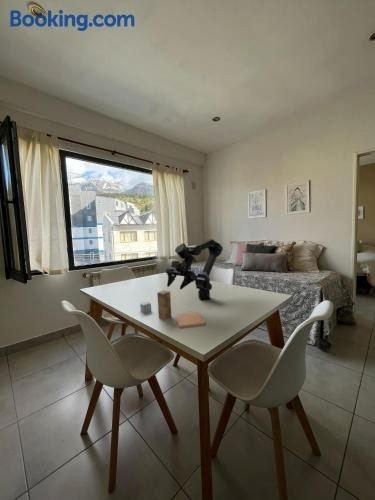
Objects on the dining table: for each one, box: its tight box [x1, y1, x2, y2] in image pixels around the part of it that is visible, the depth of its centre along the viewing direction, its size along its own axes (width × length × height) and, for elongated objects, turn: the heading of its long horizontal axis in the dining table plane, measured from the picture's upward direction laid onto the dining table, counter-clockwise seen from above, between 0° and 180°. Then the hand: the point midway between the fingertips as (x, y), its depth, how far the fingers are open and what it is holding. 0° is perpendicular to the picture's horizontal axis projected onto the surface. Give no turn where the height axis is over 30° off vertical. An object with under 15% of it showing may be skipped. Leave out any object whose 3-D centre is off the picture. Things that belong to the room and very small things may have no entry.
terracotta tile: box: [174, 312, 206, 329], centre depth 98 cm, size 12×12×1 cm
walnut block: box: [156, 289, 172, 321], centre depth 102 cm, size 4×4×13 cm
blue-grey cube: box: [139, 300, 152, 314], centre depth 112 cm, size 4×4×4 cm
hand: (173, 287), depth 107 cm, fingers open, 9 cm apart
